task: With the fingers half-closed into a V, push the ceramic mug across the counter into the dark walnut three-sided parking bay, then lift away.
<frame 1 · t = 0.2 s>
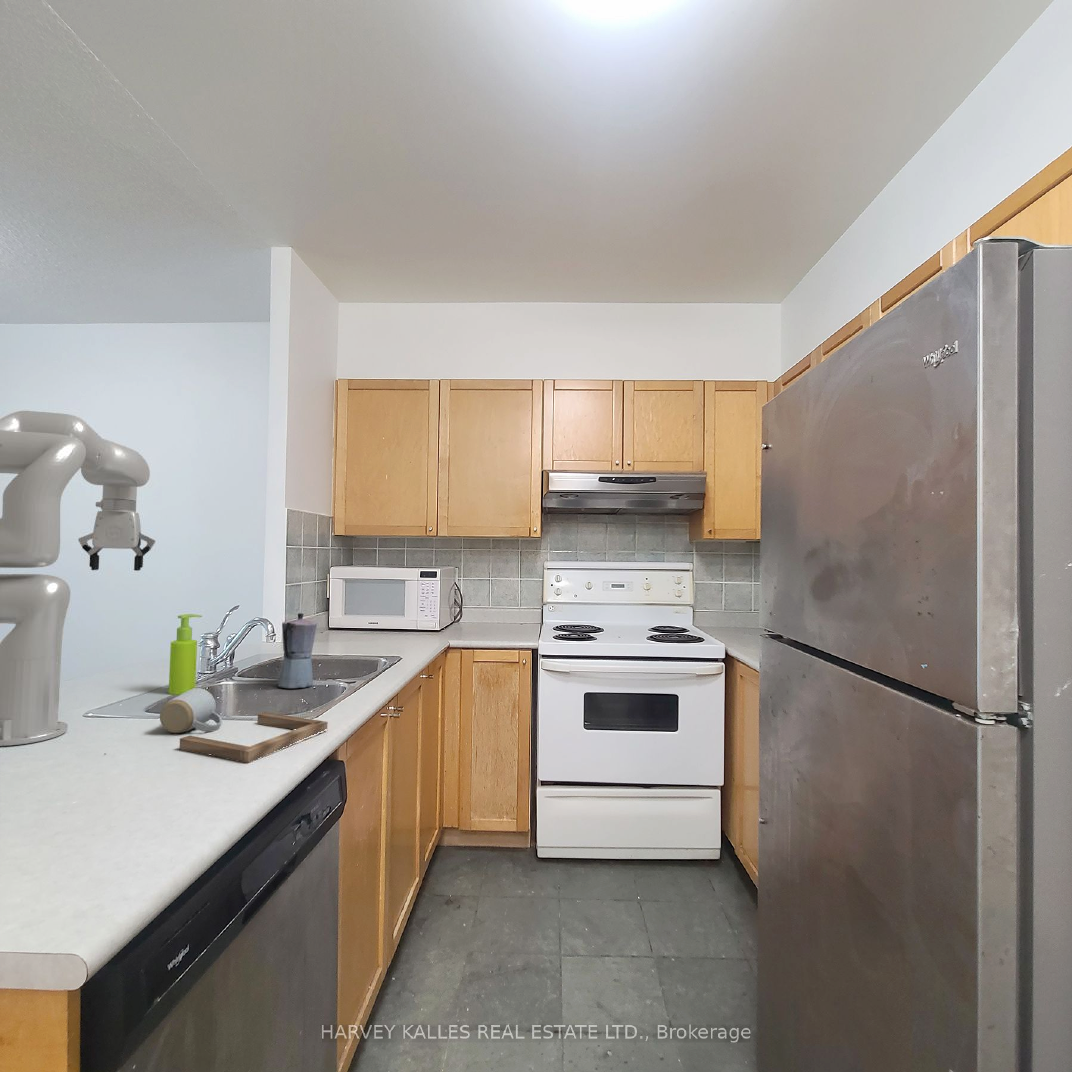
hand: (116, 570, 156), 31 cm above the worktop, tool pointing down, fingers open, 9 cm apart
soap dispenser: (184, 692, 151), on the worktop
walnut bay: (251, 738, 115), on the worktop
moka pot: (295, 687, 159), on the worktop
ceramic mug: (193, 730, 120), on the worktop
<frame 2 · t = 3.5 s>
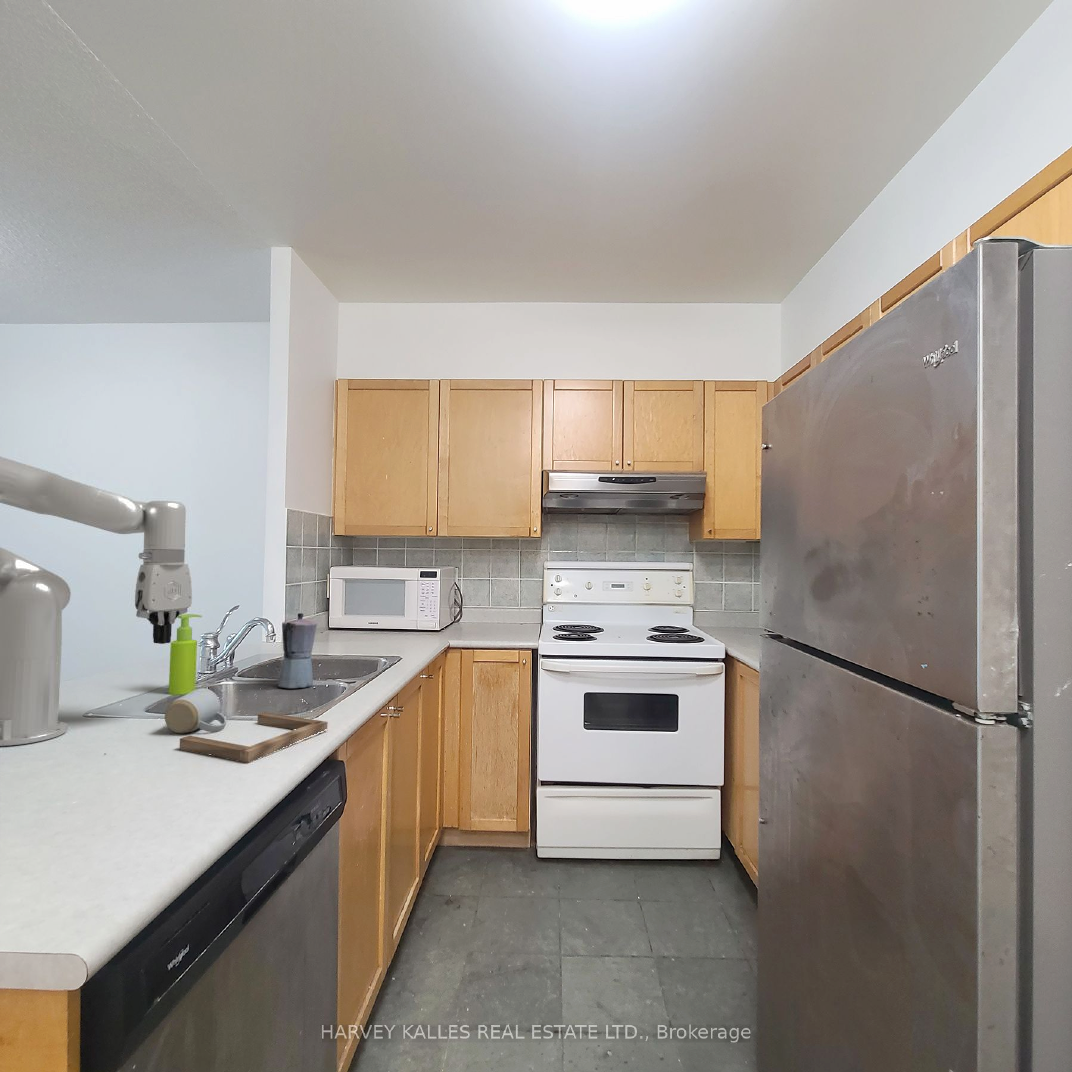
hand: (162, 642, 125), 17 cm above the worktop, tool pointing down, fingers closed
ceramic mug: (198, 730, 120), on the worktop
everything else where it was.
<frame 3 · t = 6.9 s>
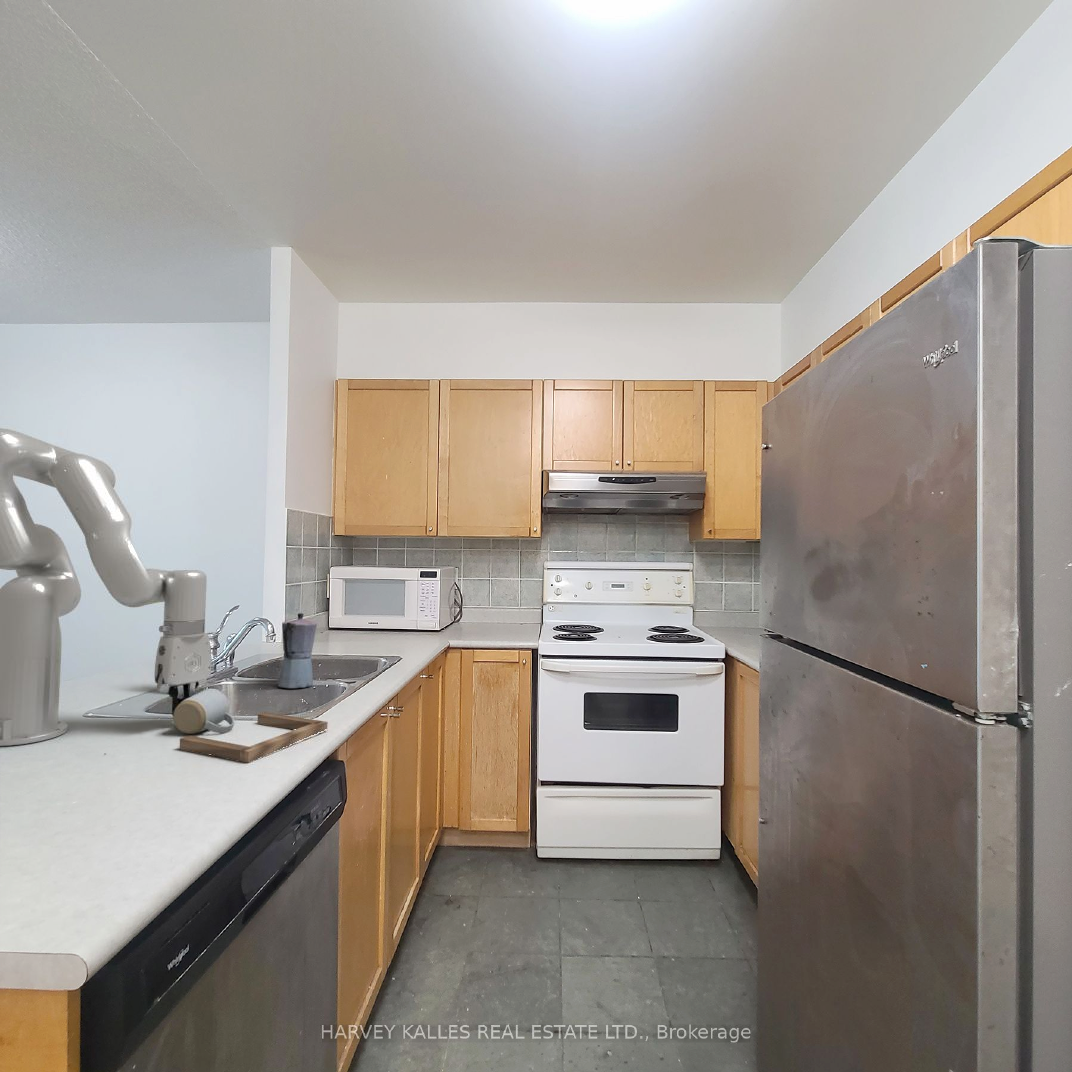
hand: (180, 715, 122), 2 cm above the worktop, tool pointing down, fingers closed
ceramic mug: (207, 730, 120), on the worktop
everything else where it was.
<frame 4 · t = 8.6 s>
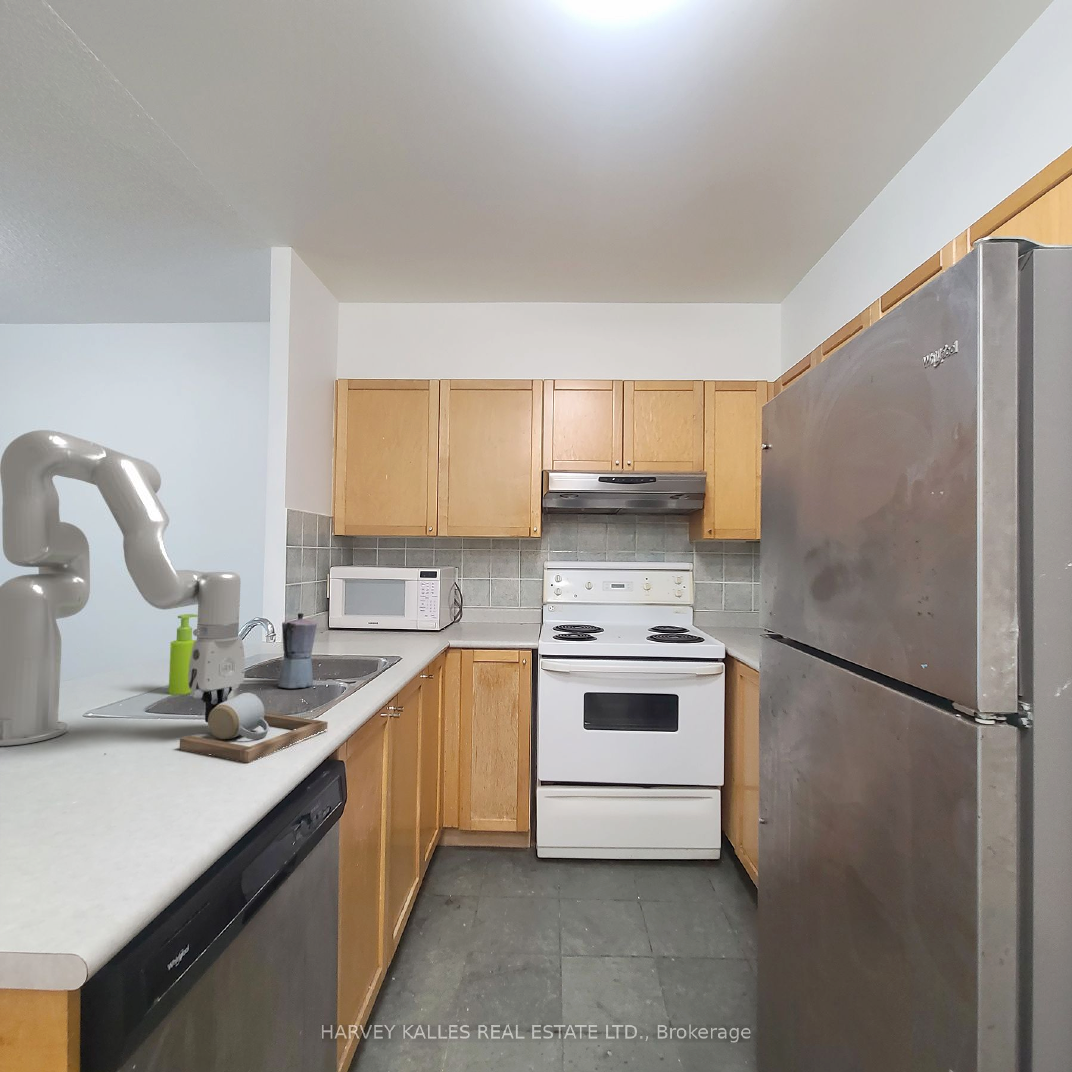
hand: (214, 721, 118), 2 cm above the worktop, tool pointing down, fingers closed
ceramic mug: (241, 736, 117), on the worktop, touching gripper
everything else where it was.
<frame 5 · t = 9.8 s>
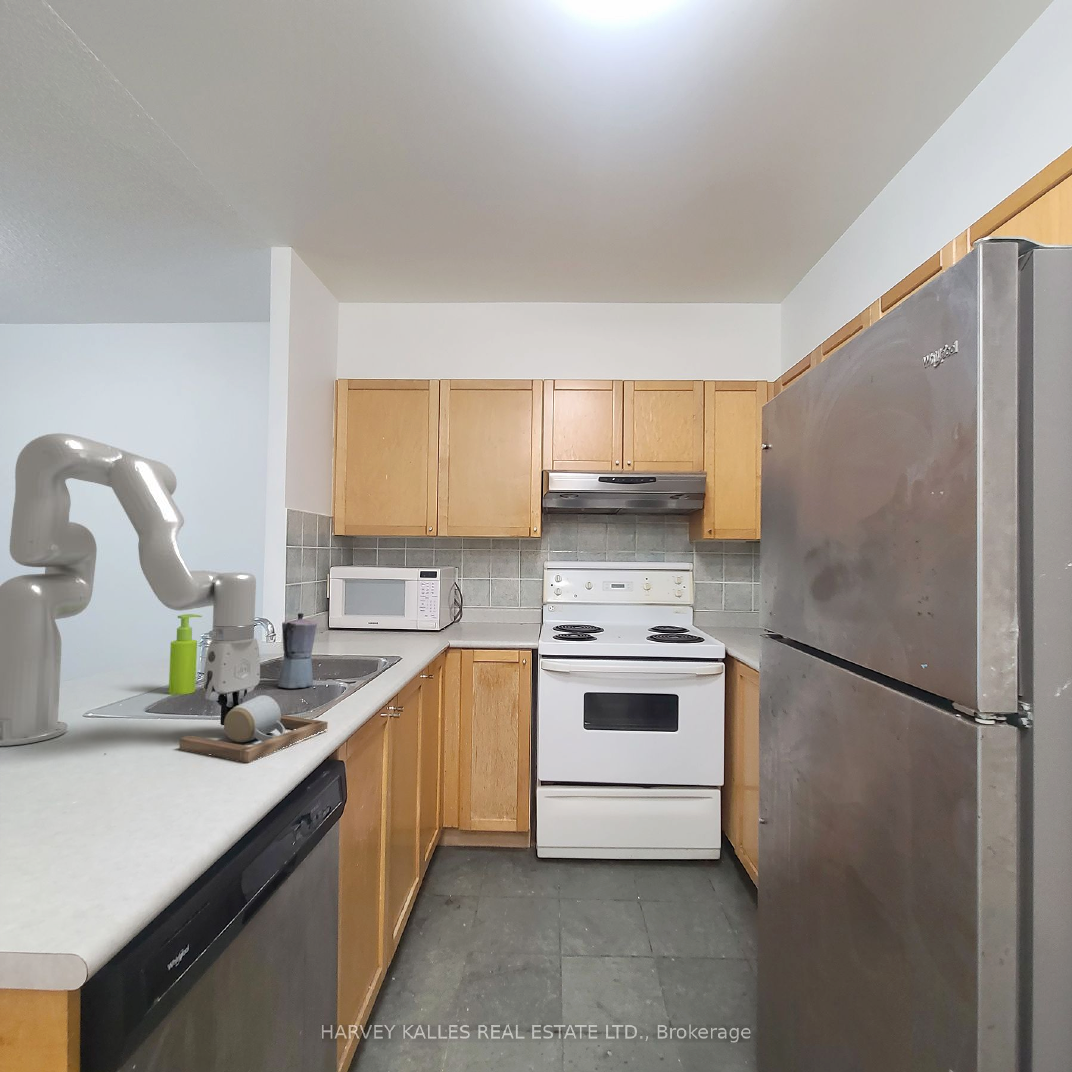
hand: (229, 724, 117), 2 cm above the worktop, tool pointing down, fingers closed
ceramic mug: (258, 739, 115), on the worktop
everything else where it was.
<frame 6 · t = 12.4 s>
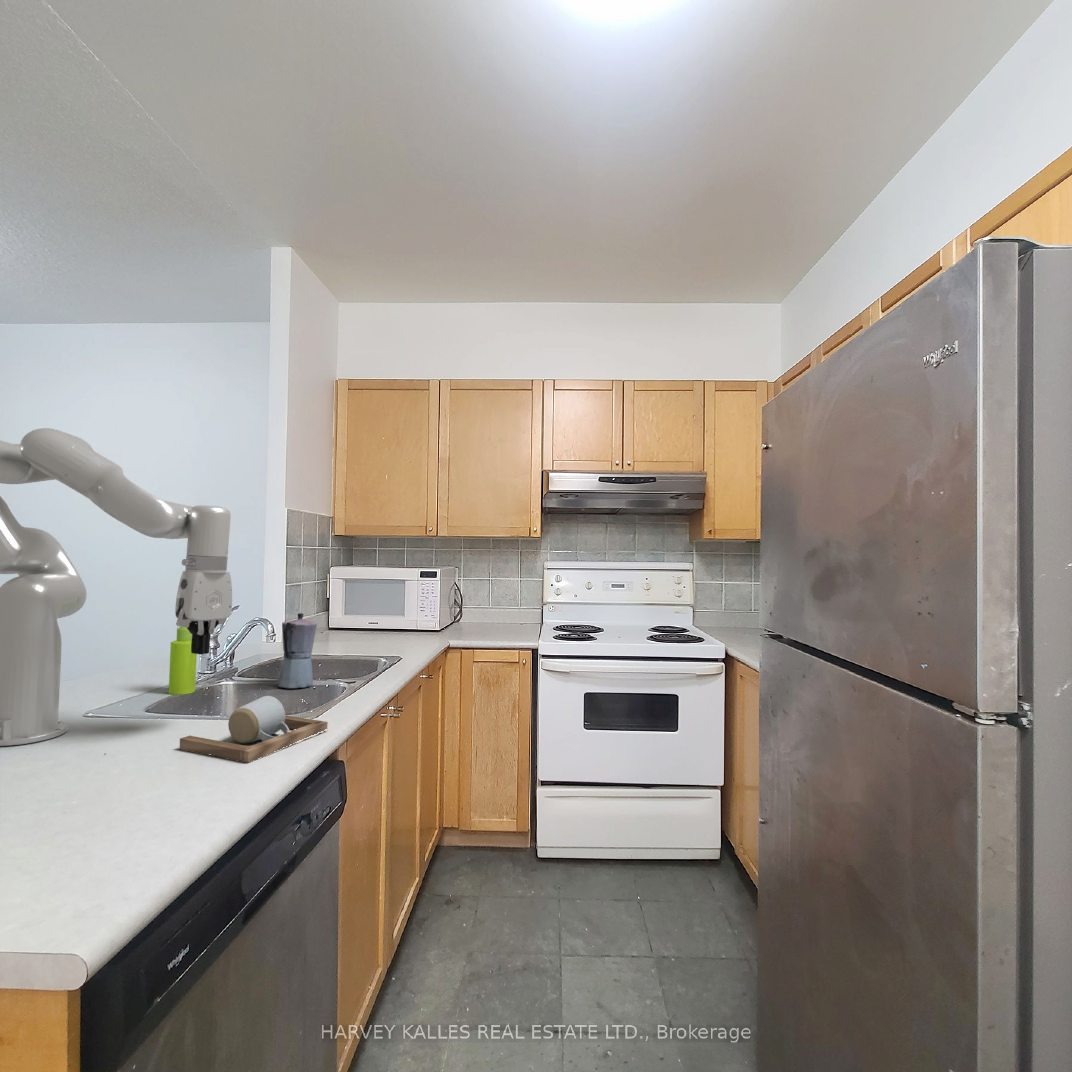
hand: (199, 653, 120), 16 cm above the worktop, tool pointing down, fingers closed
ceramic mug: (262, 740, 115), on the worktop
everything else where it was.
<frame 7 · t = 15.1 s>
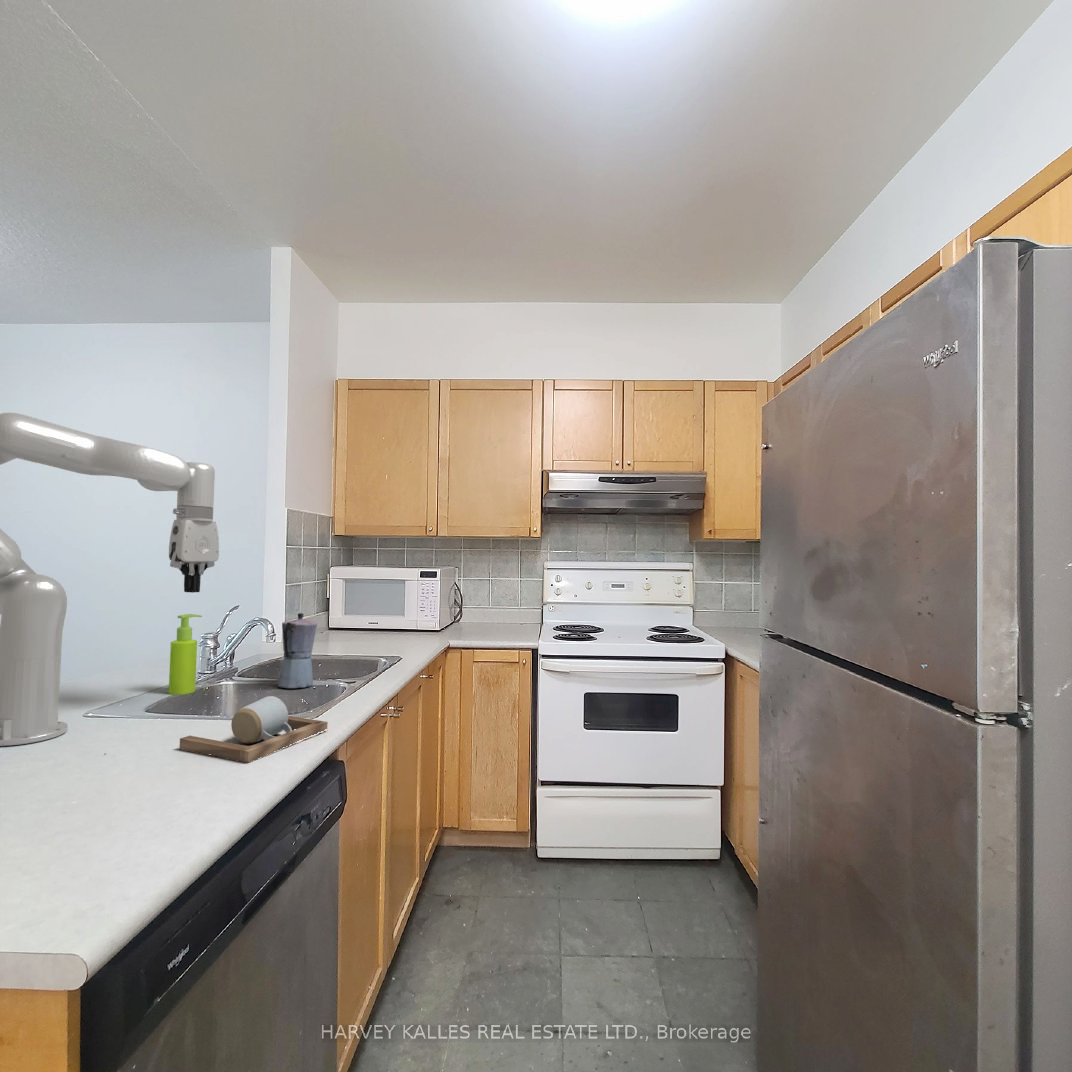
hand: (191, 591, 137), 27 cm above the worktop, tool pointing down, fingers closed
nothing on the worktop moved.
at the end: ceramic mug inside the target area (2.7 cm from its centre), on the worktop; ceramic mug tilted 0° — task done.
